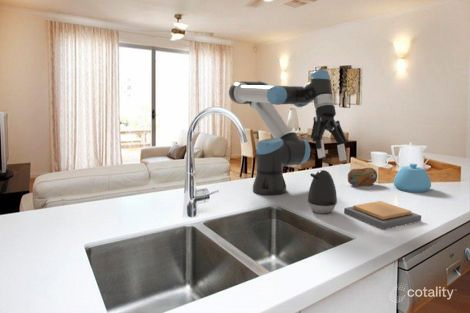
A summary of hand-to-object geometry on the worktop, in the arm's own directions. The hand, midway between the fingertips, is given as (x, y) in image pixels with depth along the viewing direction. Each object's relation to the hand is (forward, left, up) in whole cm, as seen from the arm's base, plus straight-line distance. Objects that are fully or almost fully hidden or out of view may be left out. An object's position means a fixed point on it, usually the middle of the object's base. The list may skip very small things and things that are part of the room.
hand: (332, 159), depth 125 cm
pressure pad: (+20, +5, -15) cm, 26 cm away
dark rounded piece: (+6, -9, -18) cm, 21 cm away
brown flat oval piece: (-17, +33, -18) cm, 41 cm away
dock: (+20, +5, -18) cm, 27 cm away
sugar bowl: (-2, +48, -18) cm, 51 cm away
